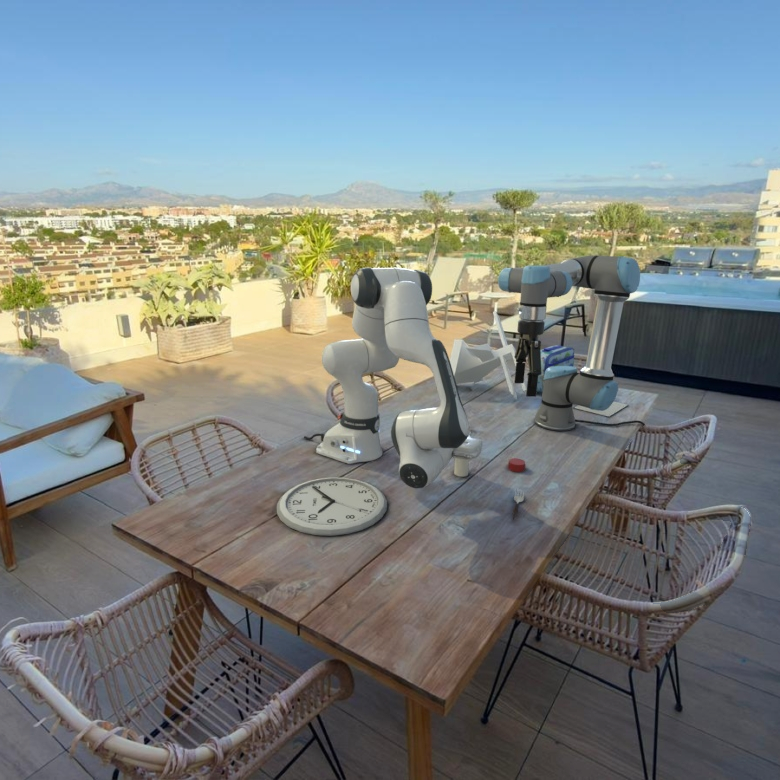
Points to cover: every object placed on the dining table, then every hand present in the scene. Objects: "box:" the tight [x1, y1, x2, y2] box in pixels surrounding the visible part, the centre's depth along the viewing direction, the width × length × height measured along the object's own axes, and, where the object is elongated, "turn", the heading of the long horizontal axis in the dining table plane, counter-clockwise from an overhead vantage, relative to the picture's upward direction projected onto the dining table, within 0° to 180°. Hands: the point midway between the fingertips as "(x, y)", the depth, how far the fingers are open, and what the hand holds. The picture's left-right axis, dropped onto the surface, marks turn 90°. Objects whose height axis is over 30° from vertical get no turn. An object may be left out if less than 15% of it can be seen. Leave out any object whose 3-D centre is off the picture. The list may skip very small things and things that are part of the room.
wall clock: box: [276, 476, 388, 537], centre depth 142 cm, size 30×2×30 cm
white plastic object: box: [449, 310, 527, 400], centre depth 245 cm, size 37×45×31 cm
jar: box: [453, 425, 472, 478], centre depth 160 cm, size 4×4×16 cm
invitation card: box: [573, 400, 629, 418], centre depth 226 cm, size 21×1×15 cm
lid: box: [507, 457, 526, 473], centre depth 166 cm, size 5×5×2 cm
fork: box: [512, 487, 526, 521], centre depth 143 cm, size 3×16×2 cm, turn 160°
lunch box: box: [535, 345, 575, 394], centre depth 245 cm, size 26×11×21 cm, turn 134°
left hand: (451, 432), depth 146 cm, fingers open, 8 cm apart
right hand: (524, 389), depth 159 cm, fingers open, 13 cm apart
